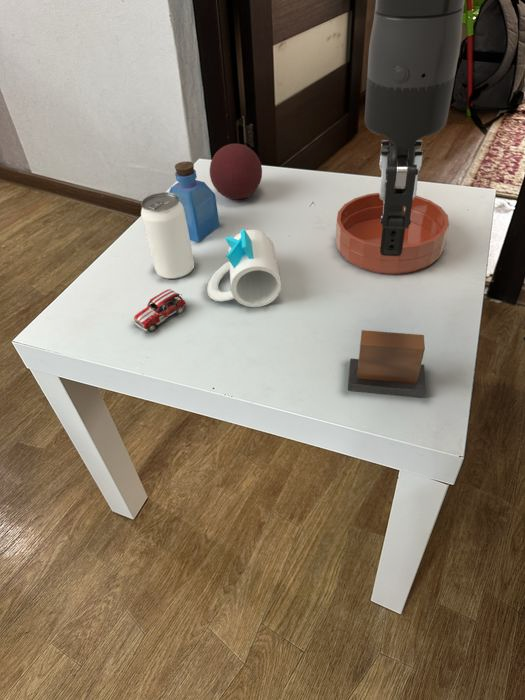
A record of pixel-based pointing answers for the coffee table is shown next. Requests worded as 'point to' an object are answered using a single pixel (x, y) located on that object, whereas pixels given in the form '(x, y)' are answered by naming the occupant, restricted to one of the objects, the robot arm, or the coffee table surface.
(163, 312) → the toy car
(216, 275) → the mug
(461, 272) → the coffee table surface
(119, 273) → the coffee table surface
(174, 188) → the perfume bottle
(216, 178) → the decorative ball
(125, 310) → the coffee table surface
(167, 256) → the can
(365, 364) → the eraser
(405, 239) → the bowl
